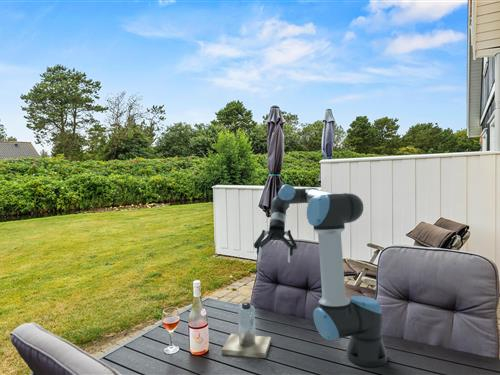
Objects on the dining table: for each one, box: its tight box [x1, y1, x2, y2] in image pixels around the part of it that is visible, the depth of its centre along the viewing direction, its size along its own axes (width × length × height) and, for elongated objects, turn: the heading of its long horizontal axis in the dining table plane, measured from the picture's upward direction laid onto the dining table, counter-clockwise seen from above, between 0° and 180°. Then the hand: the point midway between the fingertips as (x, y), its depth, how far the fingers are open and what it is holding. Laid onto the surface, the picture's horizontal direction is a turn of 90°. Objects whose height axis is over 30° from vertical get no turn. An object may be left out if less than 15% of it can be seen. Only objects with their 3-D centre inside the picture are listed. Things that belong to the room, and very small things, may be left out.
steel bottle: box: [237, 301, 256, 347], centre depth 144 cm, size 7×7×17 cm
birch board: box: [221, 333, 272, 359], centre depth 144 cm, size 18×14×2 cm
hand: (273, 260), depth 155 cm, fingers open, 13 cm apart
